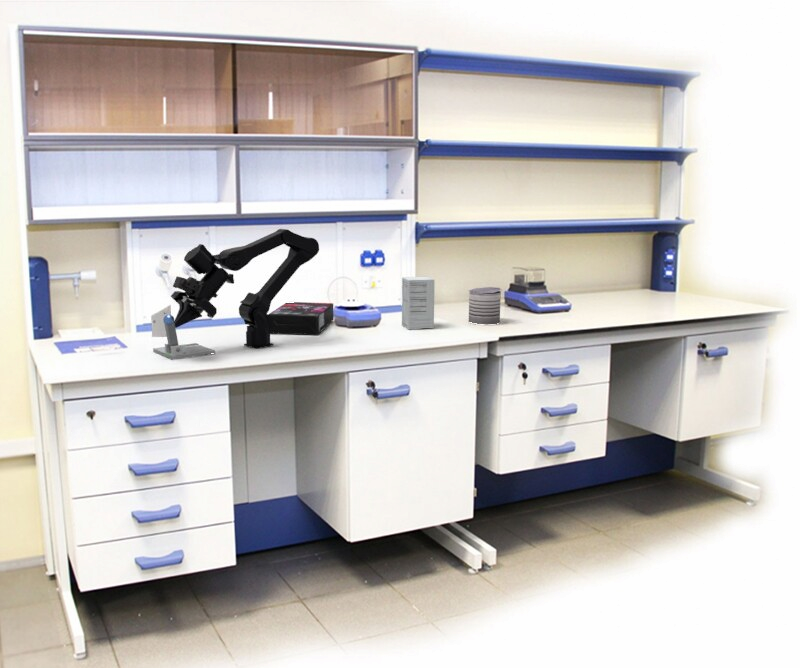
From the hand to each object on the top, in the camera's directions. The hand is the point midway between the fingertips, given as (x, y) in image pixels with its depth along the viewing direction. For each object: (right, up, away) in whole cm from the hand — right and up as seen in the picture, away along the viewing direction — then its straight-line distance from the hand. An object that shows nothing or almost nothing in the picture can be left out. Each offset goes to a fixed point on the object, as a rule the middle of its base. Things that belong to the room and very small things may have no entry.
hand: (174, 326), depth 238 cm
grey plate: (-12, -3, +32) cm, 34 cm away
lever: (0, -6, +1) cm, 6 cm away
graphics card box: (+29, +1, +34) cm, 45 cm away
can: (+93, +2, +61) cm, 112 cm away
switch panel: (+1, -7, +7) cm, 10 cm away
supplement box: (+69, 0, +51) cm, 86 cm away
